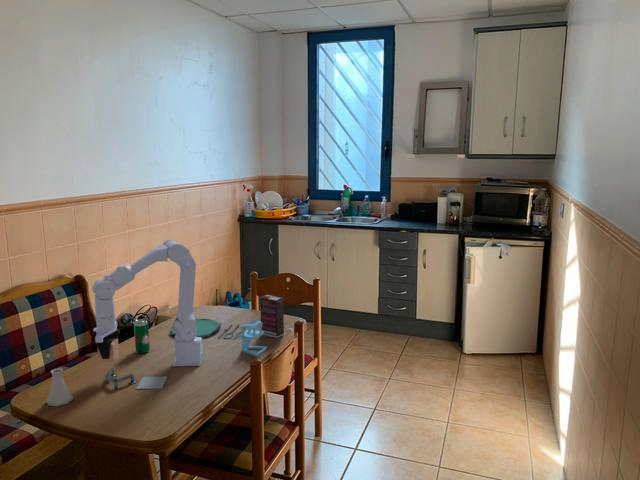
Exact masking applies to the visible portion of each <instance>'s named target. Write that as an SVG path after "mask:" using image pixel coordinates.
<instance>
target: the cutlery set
mask: <svg viewBox="0 0 640 480" xmlns="http://www.w3.org/2000/svg"><path fill="white" fill-rule="evenodd" d="M194 318H195V325H196V328H197V335H196V337H200V338H202V339H203V338H208V337H210V336H211V335H213V334H214V333H216V332H218V331H219V330H220V328H221V325H222V323H220V322H219V321H218V320H216V319H210V318H196V317H194ZM231 327H233V324H232V323H231V324H230V325H229V326H228V327H227V328H225V329H224V330H223V331H222V332H221V333H220V334H219V335H218V337H217V338H218V339H220V338H221V337H222V336H223V335H224V337H223V338H226V339H231V338H232V340H238V339H239V338H241V337H240V335H241V334H242V329H241V330H240V331H239V332H237V333H235V335H234V331H235V330H237V328H239V327H240V324H238V323H237V324H236V325H235V327H234V328H233V329H232V331H231V332H228V330H229V329H230V328H231ZM243 329H244V330H246V328H243ZM227 332H228V333H227ZM225 333H226V334H225ZM169 334H170V335H171V336H173V335H176V332H175V331H174V330H173V327H171V328H170V329H169ZM229 335H231V336H230V337H227V336H229ZM233 336H234V337H233Z"/></svg>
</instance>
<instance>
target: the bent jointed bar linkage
mask: <svg viewBox="0 0 640 480" xmlns="http://www.w3.org/2000/svg"><path fill="white" fill-rule="evenodd" d="M116 377H117V373H115V368H114V367H110V368H109V370H107V372H106V373H105V376H104V378H105V384H106V385H109V384H110V383H111V382H112V383H113V389H114V390H118V389H119V383H121V382H124V381H127V380H129V379H130V380H129V381H128V384H129V385H134V384H136V383H137V382H138V381H137V380H136V378H135V374H133V373H128V374H125V375H123V376H120V377H118V378H116Z"/></svg>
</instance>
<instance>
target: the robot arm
mask: <svg viewBox="0 0 640 480" xmlns="http://www.w3.org/2000/svg"><path fill="white" fill-rule="evenodd" d="M168 259H169V260H170V261H171V262H173V263H175V264H176V266H179V286H178V287H179V289H178V302H177V303H178V304H177V305H178V306H177V312H175V318H174V320H173V322H172V327H173V330H174V331H175V332H176V335H175V334H174V335H175V336H174V347H175V349H174V350H175V359H174V361H173V364H172V367H190V366H192V367H193V366H194V367H195V366H196V367H197V366H199V367H200V366H202V365H201V364H202V361H203V359H204V344H203V343H204V342H203V338H201V337H196V335H197V328H196V325H195V318H196V317H195V315H194V305H195V304H194V303H195V302H194V301H195V288H196V287H195V285H196V266H197V263H196V261H195V259H194V257H193V256H192V254H191V252H190V249H188V248H187V247H186V246H184V245H183V244H181V243H179V242H178V241H177V240H174V239H167V240H165V241H164V242H163V243H159V244H158V245H156V246H155V247H154V248H153V249H151V250H150V251H148V252H147V253H145V254H144V255H142V257H139V258H138V259H137V260H135V261H134V262H133V263H132V264H131V263H130V265H127V264H124V265H118V266H117V267H116V269H115V270H113V271H112V272H110V273H109V274H104V275H103V278H98V279H96V280H95V281H94V282H93V284H92V287H91V289H92V290H91V291H92V292H93V293H94V301H95V302H94V310H95V321H96V327H94V328H93V330H92V331H93V332H94V333H95V332H96V335H95V337H94V339H93V341H92V342H93V344H94V345H95V346H96V349H97V348H98V349H99V352H100V354H101V357H102V359H109V357H110V347H111V343H112V340H113V339H119V338H118V337H119V334H120V332H121V329H120V328H117V327H118V321H117V320H116V311H115V300H114V295H115V293H116V292H117V291H119V290H120V289H121V288H123V287H124V286H126V285H127V284H129V283H130V282H133V280H134V281H135V278H136V274H138V273H140V272H141V271H144V270H145V269H147V268H148V267H150V266H152V265H153V264H155V263H157V262H169V260H168ZM172 327H171V328H172Z"/></svg>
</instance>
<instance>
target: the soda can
mask: <svg viewBox="0 0 640 480" xmlns="http://www.w3.org/2000/svg"><path fill="white" fill-rule="evenodd" d="M149 331H150V329H149V322H148V320H147V319H145V318H139V319H136V320H134V324H133V333H134V345H135V352H136V353H137V354H140V355H143V354H144V355H145V354H147V353H148V352H149V351H151V350H150V349H151V348H150V347H151V345H150V344H151V343H150V332H149Z"/></svg>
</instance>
